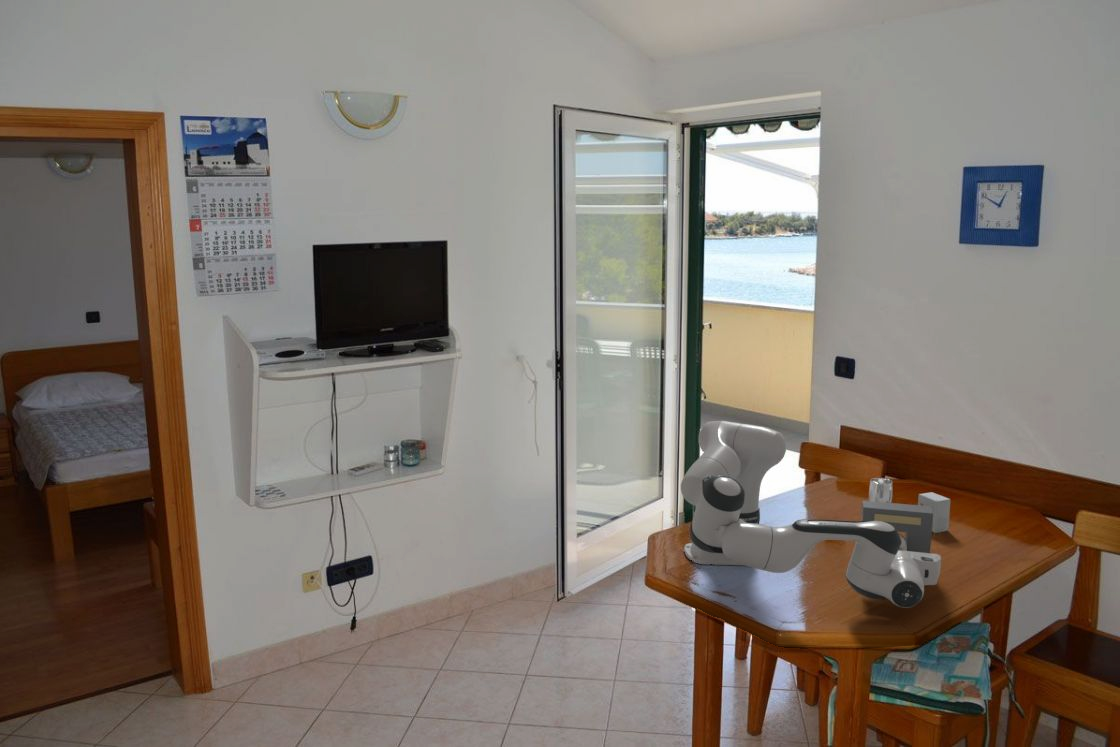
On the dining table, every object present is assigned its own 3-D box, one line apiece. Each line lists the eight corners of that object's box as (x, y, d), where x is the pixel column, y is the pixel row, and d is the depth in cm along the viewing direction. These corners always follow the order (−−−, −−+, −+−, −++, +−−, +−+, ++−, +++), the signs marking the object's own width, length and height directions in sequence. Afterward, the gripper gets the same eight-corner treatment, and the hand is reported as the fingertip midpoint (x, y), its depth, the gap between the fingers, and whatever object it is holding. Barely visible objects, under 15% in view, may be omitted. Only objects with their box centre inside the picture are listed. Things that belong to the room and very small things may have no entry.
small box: (948, 531, 279) (951, 499, 277) (934, 533, 277) (937, 501, 275) (929, 522, 287) (932, 491, 285) (915, 525, 285) (918, 493, 283)
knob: (906, 557, 242) (907, 540, 241) (886, 555, 243) (887, 538, 242) (902, 543, 252) (904, 526, 251) (884, 541, 253) (885, 524, 252)
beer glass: (891, 530, 280) (894, 484, 277) (868, 529, 281) (871, 483, 278) (888, 523, 286) (891, 478, 284) (865, 521, 288) (868, 476, 285)
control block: (928, 576, 245) (933, 514, 242) (859, 568, 250) (863, 507, 247) (925, 567, 251) (930, 506, 248) (858, 560, 256) (862, 500, 253)
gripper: (858, 576, 231) (856, 556, 244) (943, 585, 225) (936, 564, 238) (859, 553, 230) (857, 534, 243) (945, 562, 224) (938, 542, 237)
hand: (897, 549), depth 241 cm, fingers closed
